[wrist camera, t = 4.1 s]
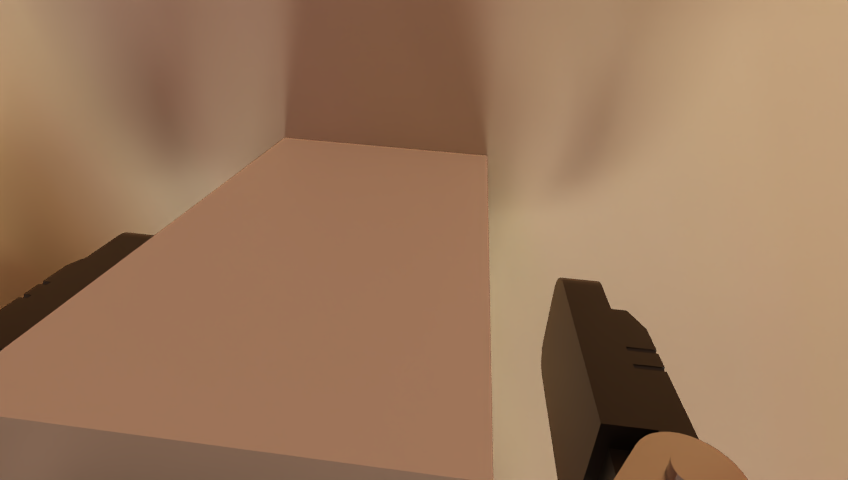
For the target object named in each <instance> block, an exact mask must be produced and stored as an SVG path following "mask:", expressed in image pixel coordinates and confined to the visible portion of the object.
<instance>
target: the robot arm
mask: <svg viewBox="0 0 848 480" xmlns="http://www.w3.org/2000/svg"><path fill="white" fill-rule="evenodd" d="M153 236H154V235H146V234H136V233H122V234H120V235H119V236H117V237H116V238H114V239H113V240H111V241H110V242H108V243H107V244H105V245H104V246H103V247H101V248H100V249H98V250H97V251H95V252H94V253H92V254H91V255H89V256H88V257H86V258H84V259H81V260H79V261H76V262H74V263H71V264H69V265H67V266H65V267H63V268H62V269H60V270H59V271H57V272H56V273H55V274H53V275H52V276H50V277H49V278H47V279H46V280H44V281H43V284H38V285H37V286H35V287H34V288H32V289H31V290H29V291H28V292H26V293H25V294H24V297H23V298H20V297H19V298H17V299H16V300H14V301H13V302H11V303H10V304H8V305H7V306H5V307H4V308H3V309H1V310H0V351H1V350H3V349H4V348H5V347H7V346H8V345H9V344H10V343H12V342H13V341H14V340H16V339H17V338H18V337H20V336H21V335H22V334H24V333H25V332H26V331H28V330H29V329H30V328H32V327H33V326H34V325H36V324H37V323H38V322H40V321H41V320H42V319H44V318H45V317H46V316H48V315H49V314H50V313H52V312H53V311H54V310H56V309H57V308H58V307H60V306H61V305H62V304H64V303H65V302H66V301H68V300H69V299H70V298H72V297H73V296H74V295H76V294H77V293H78V292H80V291H81V290H82V289H84V288H85V287H86V286H88V285H89V284H90V283H92V282H93V281H94V280H96V279H97V278H98V277H100V276H101V275H102V274H104V273H105V272H106V271H108V270H109V269H110V268H112V267H113V266H114V265H116V264H117V263H118V262H120V261H121V260H122V259H124V258H125V257H126V256H128V255H129V254H130V253H132V252H133V251H134V250H136V249H137V248H138V247H140V246H141V245H142V244H144V243H145V242H146V241H148V240H149V239H150V238H152V237H153ZM664 368H665V367H664V365H663V363H662V361H661V359H660V357H659V355H658V354H656V348H655V346H654V344H653V342H652V340H651V338H650V336H649V334H648V331H647V329H646V328H645V327H643V326H642V325H641V324H640V323H639V322H638V321H637V320H636V319H635V318H634V317H633V316H632V315H631V314H630V313H629V312H627V311H624V310H615V309H611V308H610V305H609V303H608V300H607V298H606V295H605V293H604V290H603V287H602V285H601V283H600V282H598V281H588V280H578V279H569V278H559V279H558V280H557V282H556V285H555V289H554V293H553V298H552V303H551V307H550V312H549V317H548V322H547V326H546V331H545V336H544V341H543V347H542V358H541V369H542V378H543V385H544V392H545V398H546V405H547V411H548V418H549V425H550V431H551V438H552V444H553V451H554V458H555V464H556V471H557V477H558V480H748V479H747V478H746V476H745V475H744V473H743V472H742V471H741V470H740V469H739V468H738V467H737V465H736V464H735V463H733V462H732V461H731V460H730V459H729V458H728V457H727V456H725V455H724V454H723V453H721V452H720V451H719V450H717V449H716V448H714V447H712V446H711V445H709V444H707V443H705V442H703V441H701V440H699V439H698V437H697V435H696V432H695V430H694V428H693V426H692V424H691V422H690V420H689V418H688V416H687V414H686V411H685V409H684V407H683V405H682V403H681V401H680V399H679V397H678V395H677V393H676V390H675V388H674V386H673V384H672V382H671V380H670V378H669V376H668V374H667V372H664Z"/></svg>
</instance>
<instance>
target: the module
mask: <svg viewBox="0 0 848 480" xmlns="http://www.w3.org/2000/svg"><path fill="white" fill-rule="evenodd" d="M0 480H493V441H492V387H491V334H490V281H489V227H488V174H487V155H475V154H464V153H453V152H442V151H430V150H419V149H408V148H397V147H385V146H374V145H363V144H352V143H340V142H329V141H318V140H307V139H295V138H284V139H282V140H281V141H280V142H278V143H277V144H276V145H274V146H273V147H272V148H270V149H269V150H268V151H266V152H265V153H264V154H262V155H261V156H260V157H258V158H257V159H256V160H254V161H253V162H252V163H250V164H249V165H248V166H246V167H245V168H244V169H242V170H241V171H240V172H238V173H237V174H236V175H234V176H233V177H232V178H230V179H229V180H228V181H226V182H225V183H224V184H222V185H221V186H220V187H218V188H217V189H216V190H214V191H213V192H212V193H210V194H209V195H208V196H206V197H205V198H204V199H202V200H201V201H200V202H198V203H197V204H196V205H194V206H193V207H192V208H190V209H189V210H188V211H186V212H185V213H184V214H182V215H181V216H180V217H178V218H177V219H176V220H174V221H173V222H172V223H170V224H169V225H168V226H166V227H165V228H164V229H162V230H161V231H160V232H158V233H157V234H156V235H154V236H153V237H152V238H150V239H149V240H148V241H146V242H145V243H144V244H142V245H141V246H140V247H138V248H137V249H136V250H134V251H133V252H132V253H130V254H129V255H128V256H126V257H125V258H124V259H122V260H121V261H120V262H118V263H117V264H116V265H114V266H113V267H112V268H110V269H109V270H108V271H106V272H105V273H104V274H102V275H101V276H100V277H98V278H97V279H96V280H94V281H93V282H92V283H90V284H89V285H88V286H86V287H85V288H84V289H82V290H81V291H80V292H78V293H77V294H76V295H74V296H73V297H72V298H70V299H69V300H68V301H66V302H65V303H64V304H62V305H61V306H60V307H58V308H57V309H56V310H54V311H53V312H52V313H50V314H49V315H48V316H46V317H45V318H44V319H42V320H41V321H40V322H38V323H37V324H36V325H34V326H33V327H32V328H30V329H29V330H28V331H26V332H25V333H24V334H22V335H21V336H20V337H18V338H17V339H16V340H14V341H13V342H12V343H10V344H9V345H8V346H7V347H5V348H4V349H3V350H1V351H0Z"/></svg>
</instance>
